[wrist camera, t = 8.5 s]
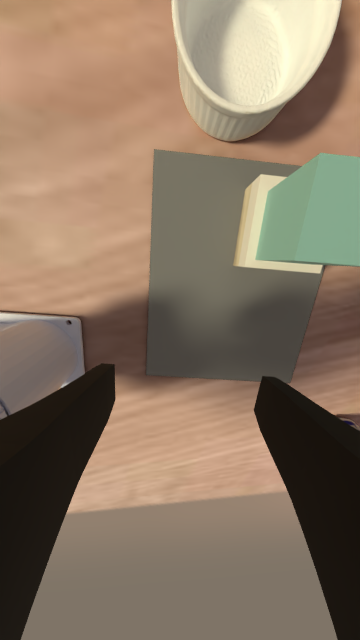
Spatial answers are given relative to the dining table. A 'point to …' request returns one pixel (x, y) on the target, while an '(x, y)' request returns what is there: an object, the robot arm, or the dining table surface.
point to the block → (314, 214)
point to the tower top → (254, 227)
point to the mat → (217, 278)
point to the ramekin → (248, 58)
